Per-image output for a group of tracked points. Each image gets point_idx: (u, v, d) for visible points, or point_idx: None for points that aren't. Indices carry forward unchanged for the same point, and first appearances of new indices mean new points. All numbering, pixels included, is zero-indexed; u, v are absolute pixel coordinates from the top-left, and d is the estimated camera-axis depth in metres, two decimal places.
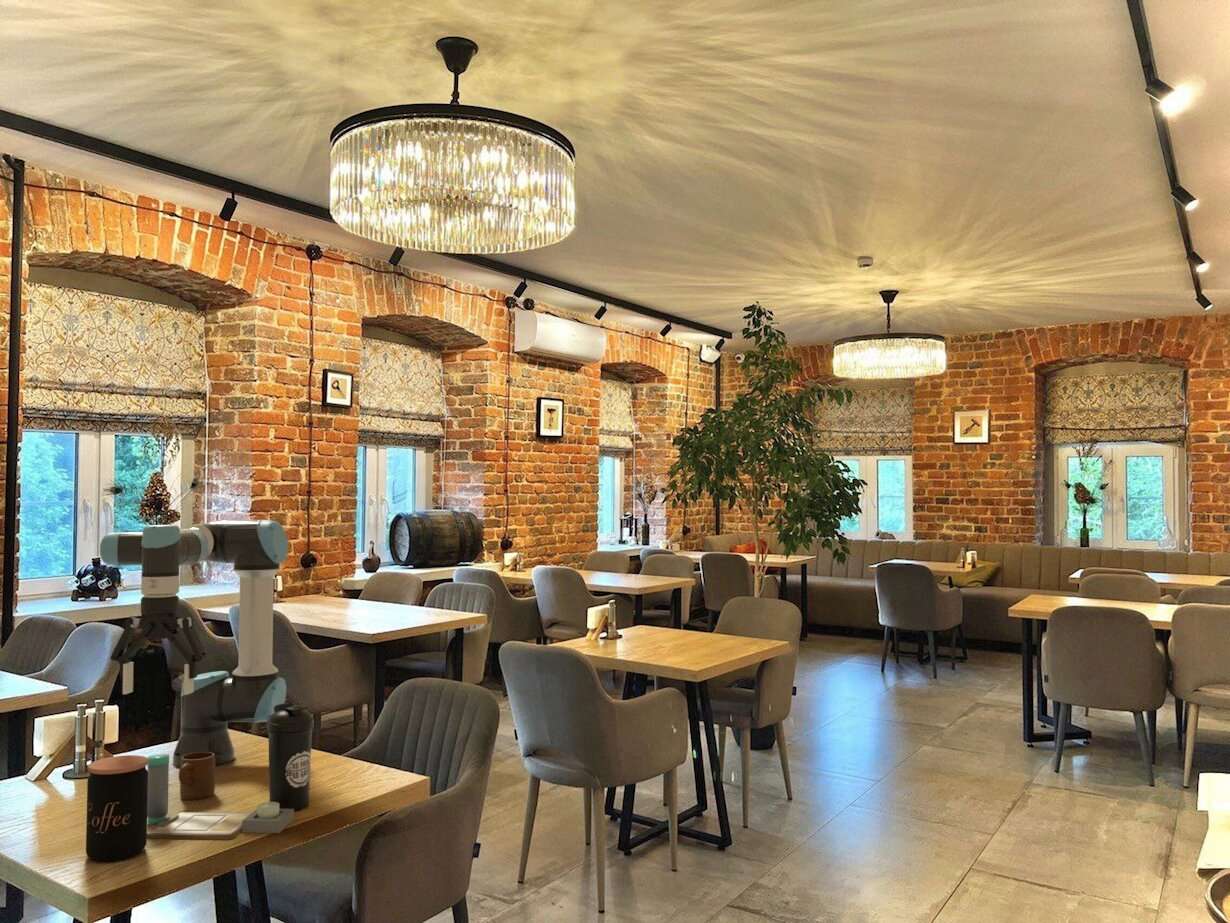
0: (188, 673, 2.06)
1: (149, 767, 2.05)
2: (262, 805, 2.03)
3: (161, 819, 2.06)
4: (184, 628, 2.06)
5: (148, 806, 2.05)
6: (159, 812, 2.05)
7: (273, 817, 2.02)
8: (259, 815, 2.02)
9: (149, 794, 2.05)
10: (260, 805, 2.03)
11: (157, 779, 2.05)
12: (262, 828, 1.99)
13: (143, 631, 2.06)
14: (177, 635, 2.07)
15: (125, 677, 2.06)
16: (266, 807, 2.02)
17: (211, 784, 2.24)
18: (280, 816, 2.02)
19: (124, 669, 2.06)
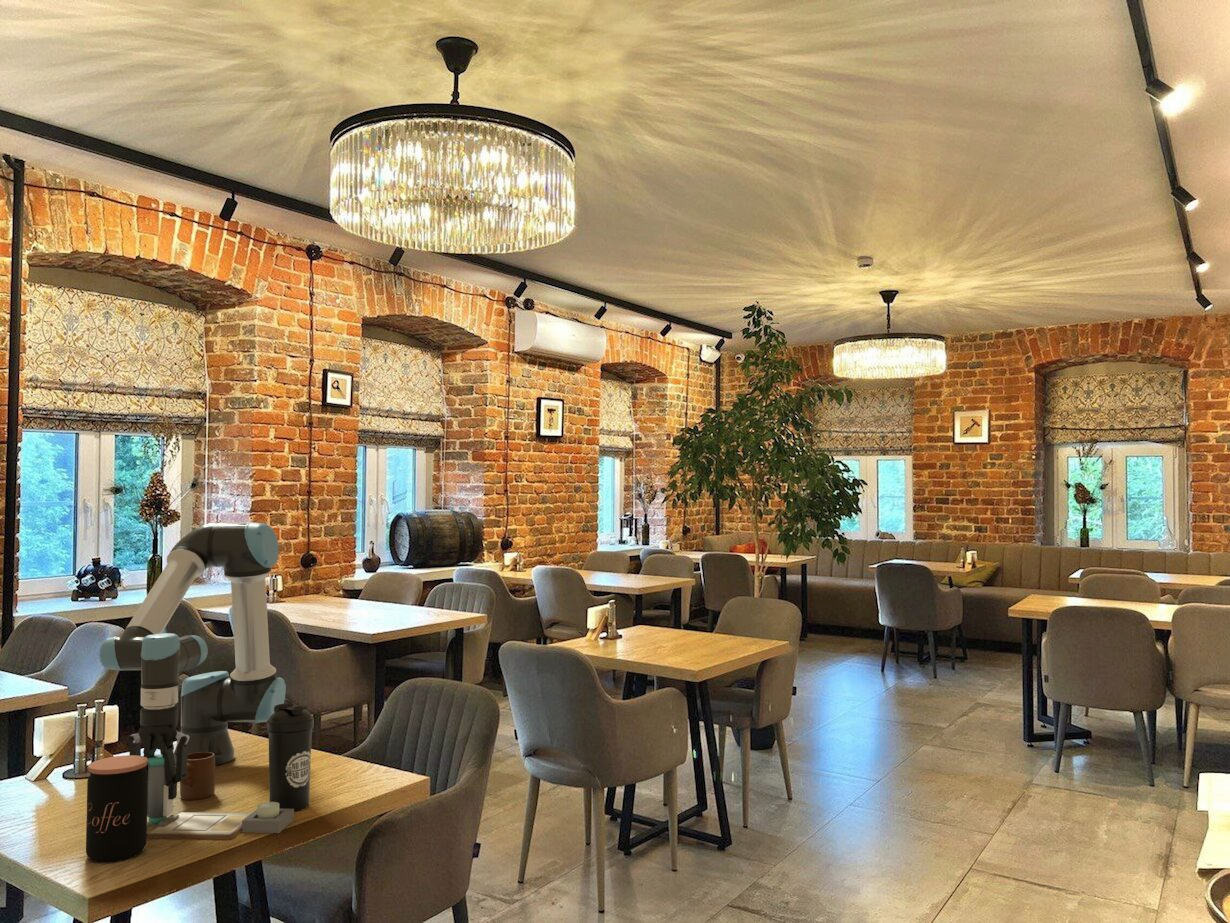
0: (167, 794, 2.06)
1: (150, 767, 2.05)
2: (262, 805, 2.03)
3: (162, 819, 2.06)
4: (179, 745, 2.06)
5: (149, 806, 2.05)
6: (160, 812, 2.05)
7: (273, 817, 2.02)
8: (259, 815, 2.02)
9: (150, 794, 2.05)
10: (260, 805, 2.03)
11: (158, 779, 2.05)
12: (262, 828, 1.99)
13: (146, 745, 2.06)
14: (170, 750, 2.07)
15: None
16: (266, 807, 2.02)
17: (211, 784, 2.24)
18: (280, 816, 2.02)
19: None
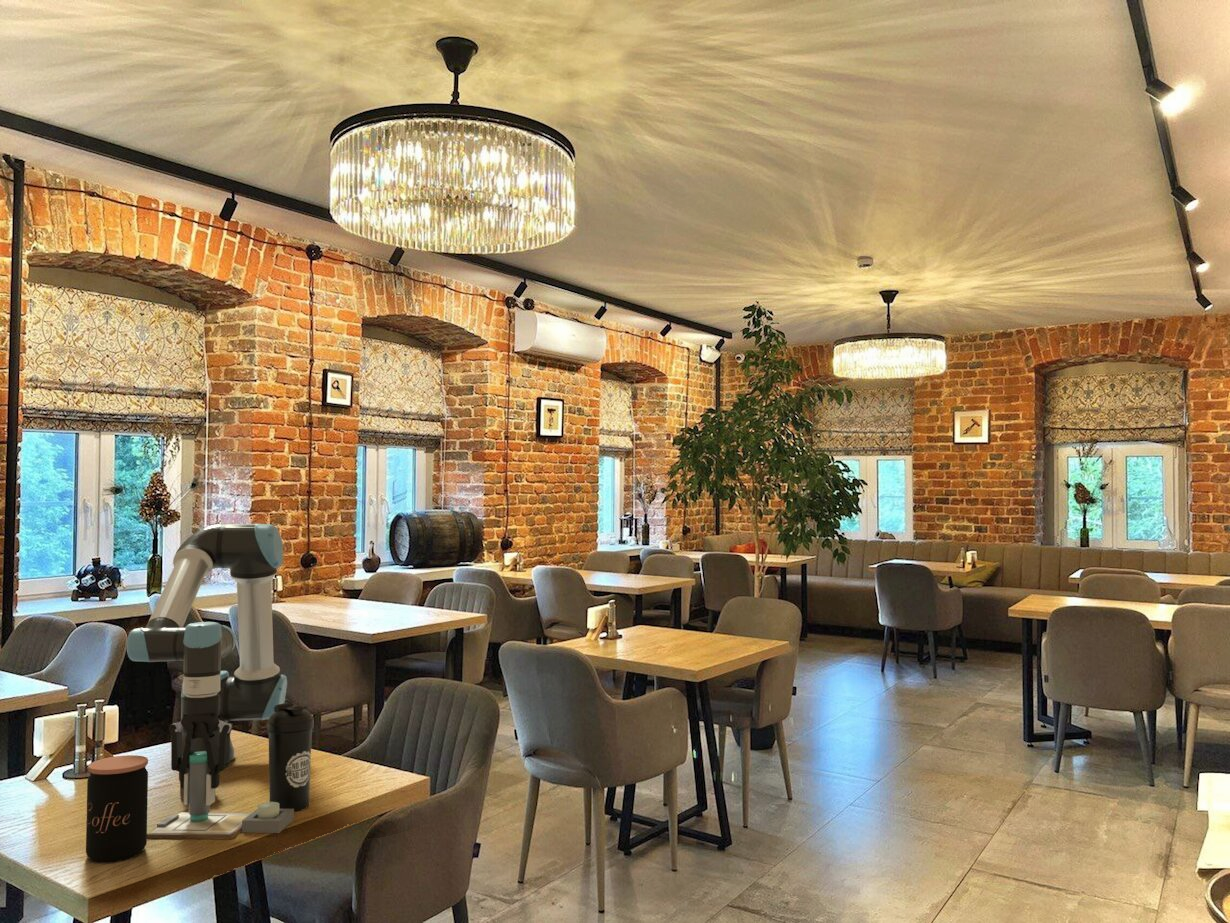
0: (210, 783, 2.05)
1: (191, 764, 2.04)
2: (262, 805, 2.03)
3: (203, 816, 2.04)
4: (222, 734, 2.05)
5: (190, 803, 2.04)
6: (202, 809, 2.04)
7: (273, 817, 2.02)
8: (259, 815, 2.02)
9: (191, 791, 2.04)
10: (260, 805, 2.03)
11: (200, 776, 2.04)
12: (262, 828, 1.99)
13: (188, 733, 2.05)
14: (212, 739, 2.06)
15: (186, 788, 2.05)
16: (266, 807, 2.02)
17: None
18: (280, 816, 2.02)
19: (185, 779, 2.05)
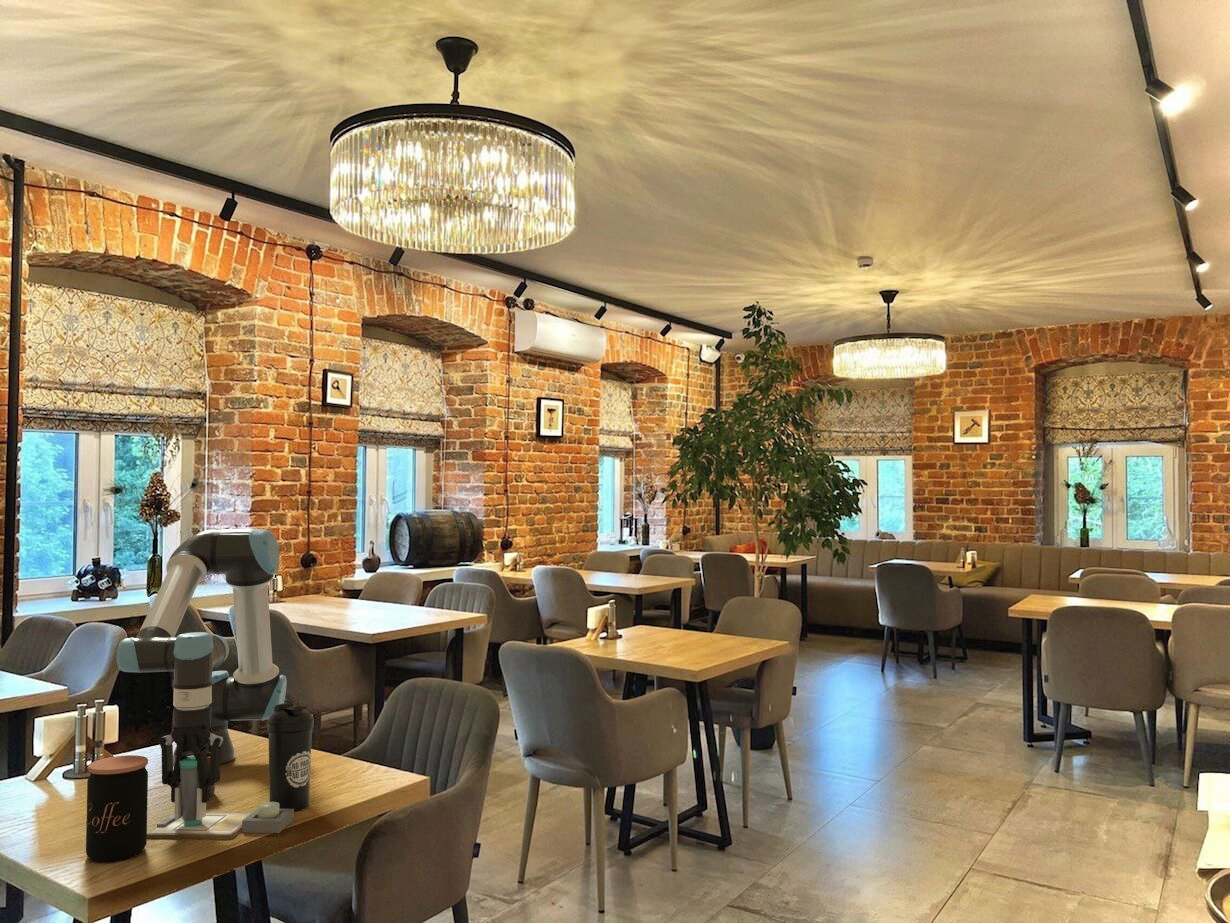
0: (201, 798, 2.00)
1: (182, 770, 2.00)
2: (262, 805, 2.03)
3: (197, 821, 2.01)
4: (213, 747, 2.00)
5: (183, 809, 2.00)
6: (195, 814, 2.01)
7: (273, 817, 2.02)
8: (259, 815, 2.02)
9: (183, 797, 2.00)
10: (260, 805, 2.03)
11: (191, 782, 2.00)
12: (262, 828, 1.99)
13: (179, 746, 2.00)
14: (203, 753, 2.02)
15: (177, 802, 2.00)
16: (266, 807, 2.02)
17: None
18: (280, 816, 2.02)
19: (176, 794, 2.00)
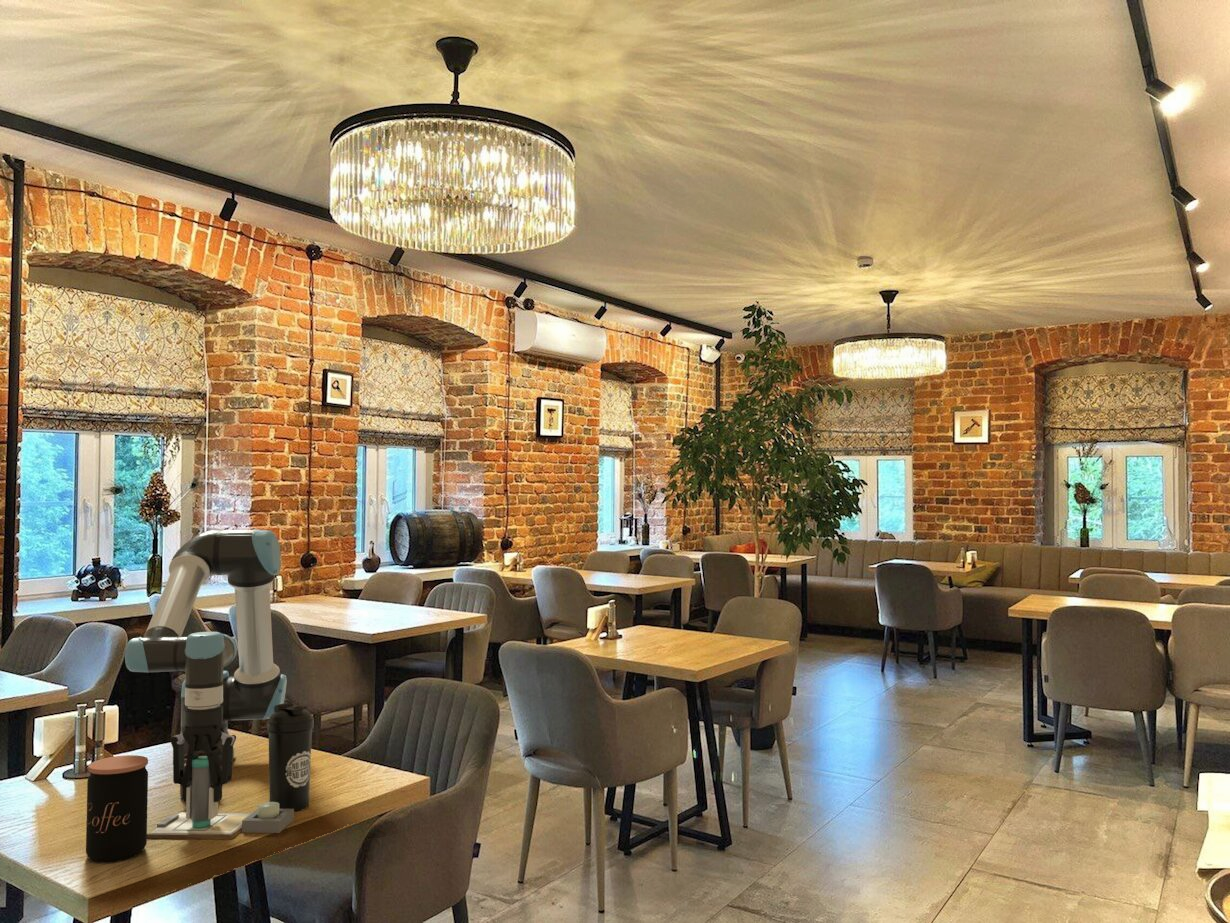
0: (213, 797, 2.00)
1: (194, 769, 2.00)
2: (262, 805, 2.03)
3: (205, 823, 2.00)
4: (224, 747, 2.01)
5: (192, 809, 2.00)
6: (204, 815, 1.99)
7: (273, 817, 2.02)
8: (259, 815, 2.02)
9: (193, 797, 2.00)
10: (260, 805, 2.03)
11: (202, 781, 2.00)
12: (262, 828, 1.99)
13: (190, 746, 2.00)
14: (214, 752, 2.02)
15: (188, 801, 2.00)
16: (266, 807, 2.02)
17: None
18: (280, 816, 2.02)
19: (187, 793, 2.00)
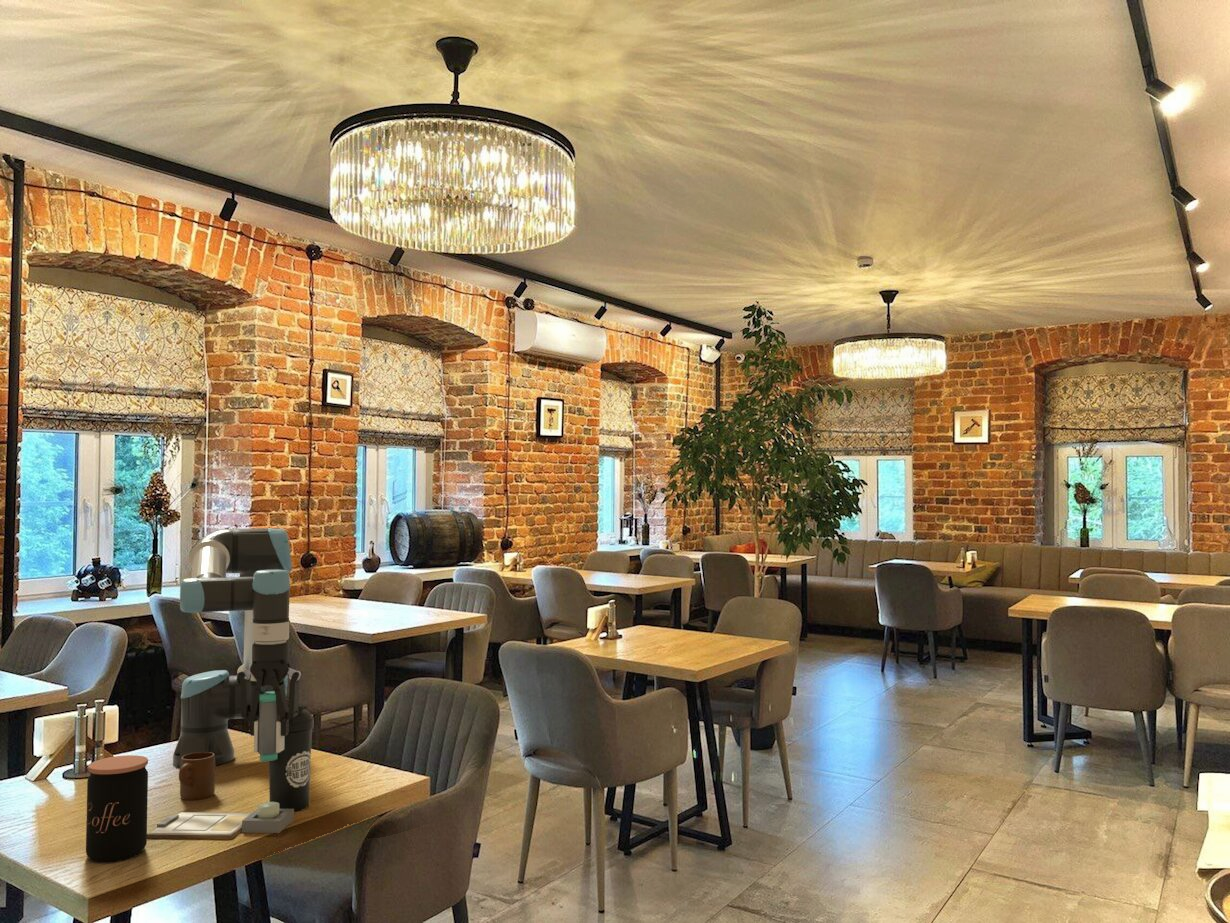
0: (280, 731, 2.03)
1: (261, 703, 2.03)
2: (262, 805, 2.03)
3: (273, 756, 2.03)
4: (291, 681, 2.03)
5: (260, 743, 2.02)
6: (271, 748, 2.02)
7: (273, 817, 2.02)
8: (259, 815, 2.02)
9: (261, 730, 2.02)
10: (260, 805, 2.03)
11: (270, 715, 2.02)
12: (262, 828, 1.99)
13: (258, 680, 2.03)
14: (281, 687, 2.05)
15: (256, 735, 2.03)
16: (266, 807, 2.02)
17: (211, 784, 2.24)
18: (280, 816, 2.02)
19: (255, 727, 2.03)
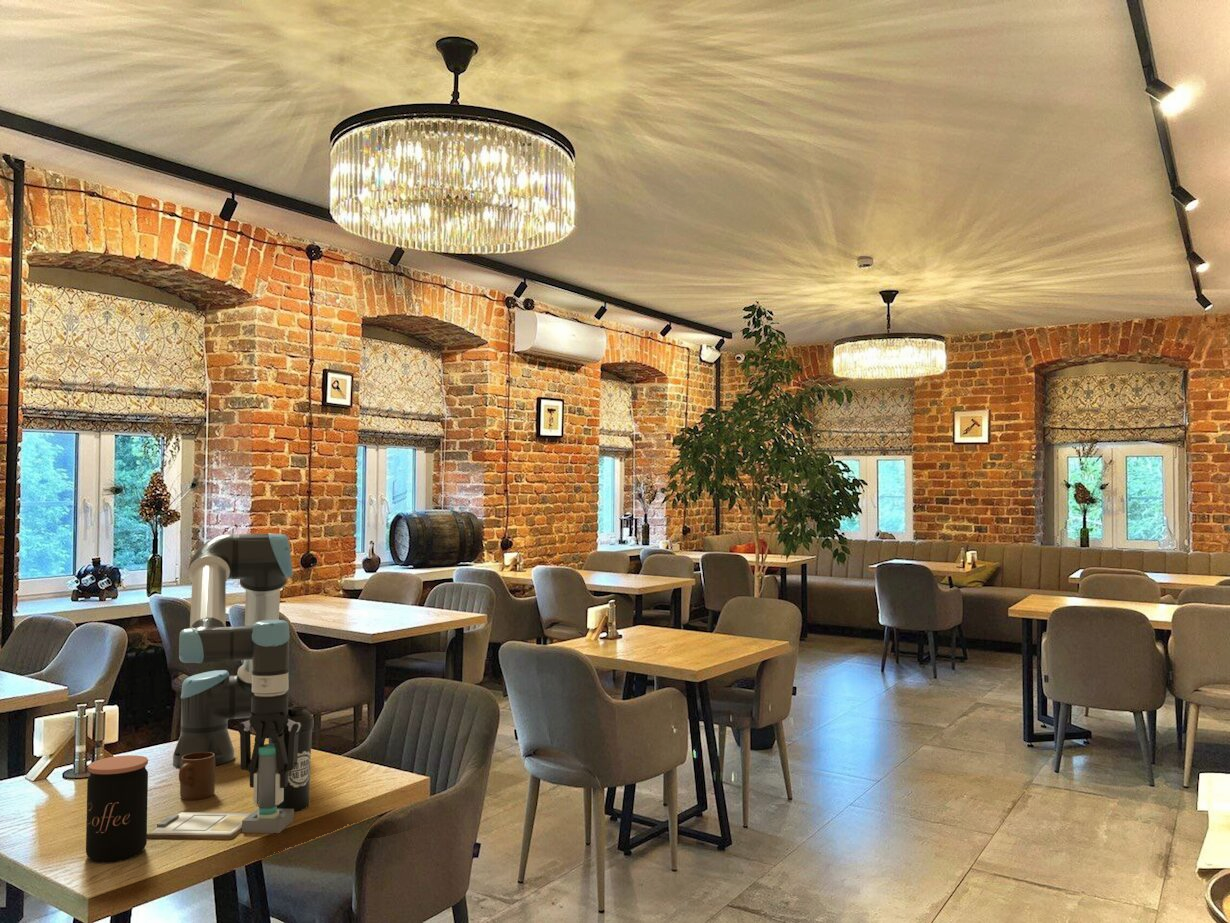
0: (279, 783, 2.03)
1: (260, 756, 2.02)
2: None
3: (272, 810, 2.02)
4: (291, 733, 2.03)
5: (259, 796, 2.02)
6: (271, 802, 2.02)
7: None
8: None
9: (260, 784, 2.02)
10: None
11: (269, 769, 2.02)
12: (262, 828, 1.99)
13: (257, 732, 2.03)
14: (281, 738, 2.04)
15: (256, 787, 2.03)
16: None
17: (211, 784, 2.24)
18: (280, 816, 2.02)
19: (255, 779, 2.03)
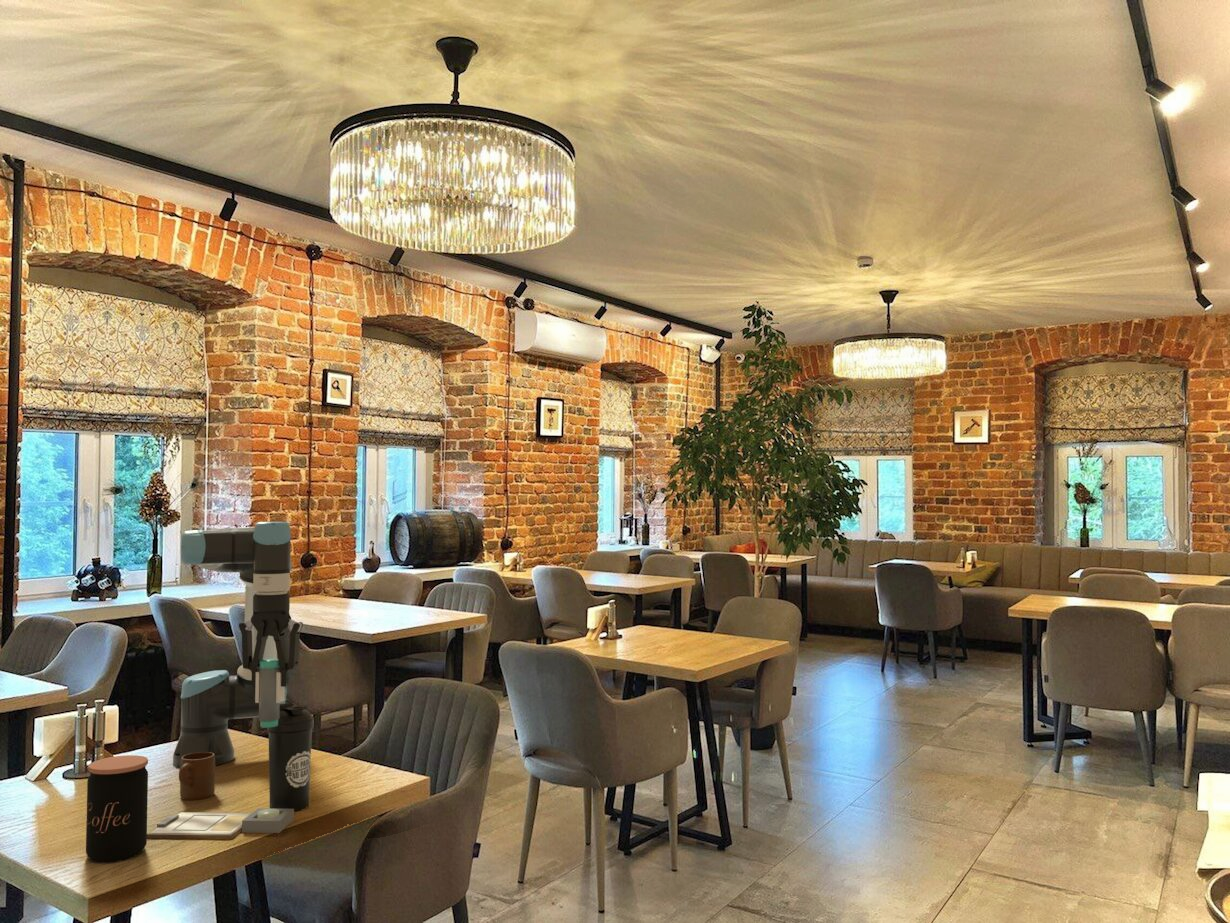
0: (280, 681, 2.04)
1: (261, 670, 2.03)
2: (262, 812, 2.03)
3: (273, 723, 2.03)
4: (292, 632, 2.04)
5: (261, 709, 2.03)
6: (272, 715, 2.03)
7: None
8: None
9: (262, 697, 2.03)
10: (259, 812, 2.03)
11: (270, 682, 2.03)
12: (262, 828, 1.99)
13: (259, 631, 2.04)
14: (282, 638, 2.05)
15: (258, 685, 2.04)
16: (266, 814, 2.02)
17: (211, 784, 2.24)
18: (280, 816, 2.02)
19: (257, 677, 2.04)
